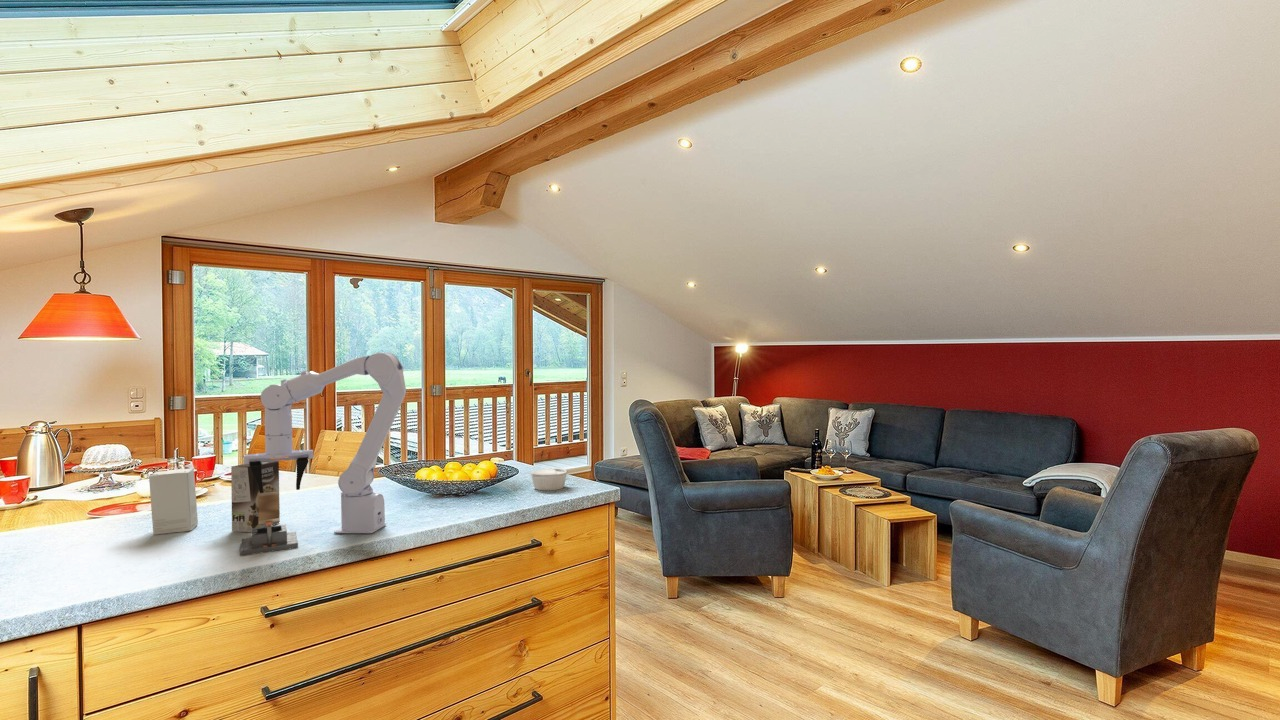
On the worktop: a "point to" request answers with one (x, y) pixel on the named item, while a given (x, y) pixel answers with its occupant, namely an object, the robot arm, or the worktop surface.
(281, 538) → the sleeve stand
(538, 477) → the ramekin
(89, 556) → the worktop surface
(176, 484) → the skincare box
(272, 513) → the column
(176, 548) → the worktop surface
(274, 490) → the coffee box
